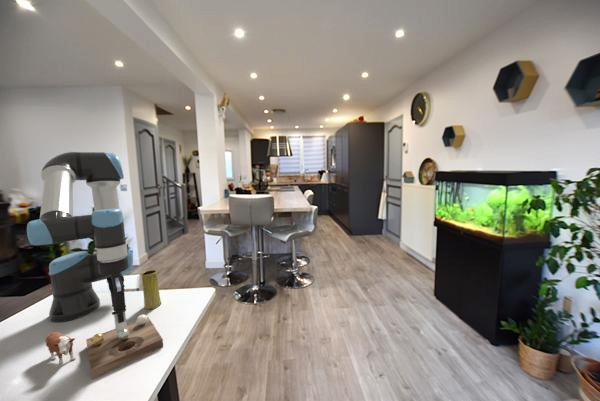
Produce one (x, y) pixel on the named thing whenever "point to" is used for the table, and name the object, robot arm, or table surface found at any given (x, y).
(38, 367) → the table surface
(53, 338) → the bull figurine
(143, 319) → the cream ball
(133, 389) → the table surface
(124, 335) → the steel ball
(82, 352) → the table surface
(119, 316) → the robot arm
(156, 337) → the board
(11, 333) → the table surface
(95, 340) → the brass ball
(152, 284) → the vase
